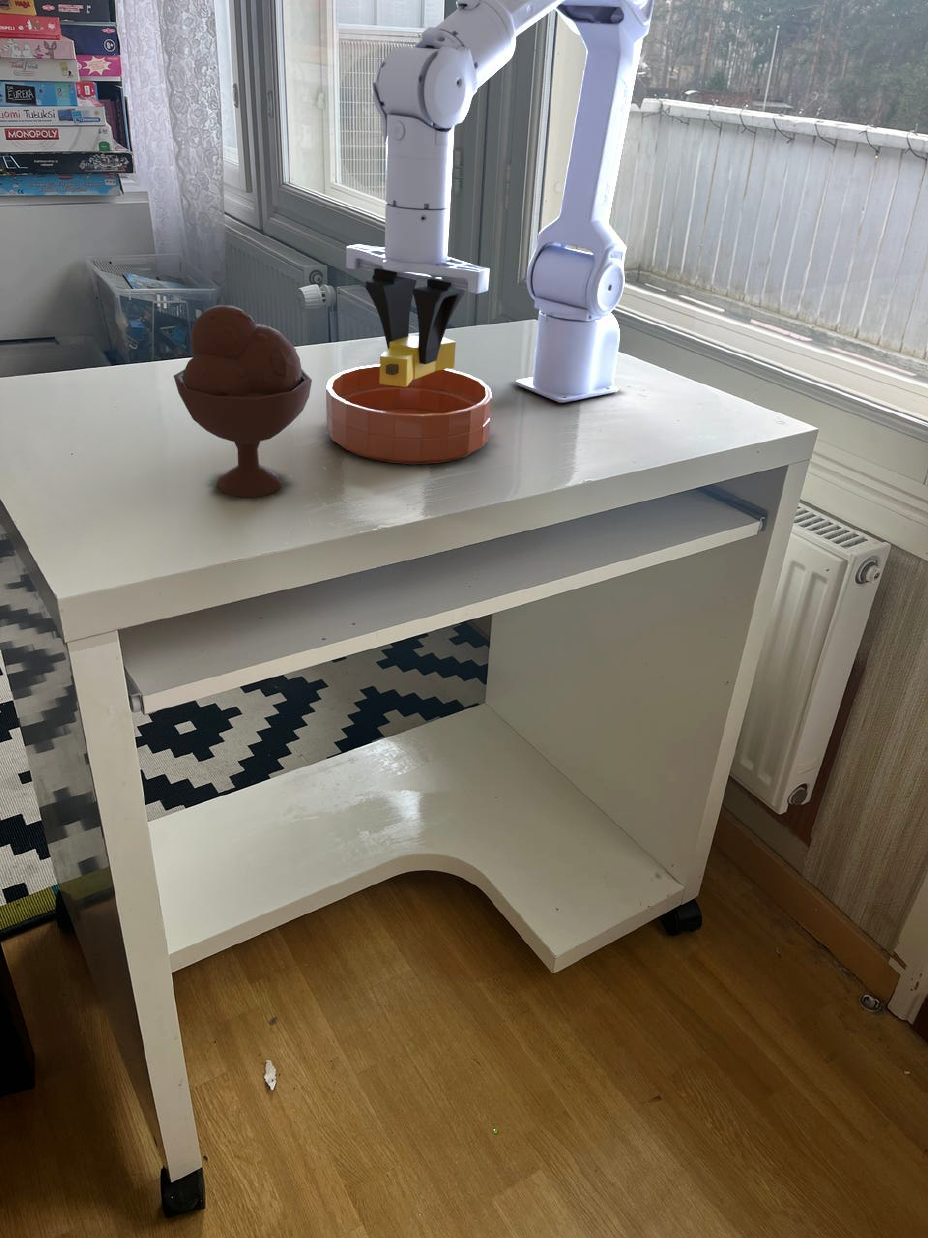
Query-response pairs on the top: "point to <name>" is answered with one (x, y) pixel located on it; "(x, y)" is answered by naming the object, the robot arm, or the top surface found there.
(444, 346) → the yellow banana
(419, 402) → the bowl
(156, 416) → the top surface
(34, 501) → the top surface
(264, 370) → the ice cream bowl
